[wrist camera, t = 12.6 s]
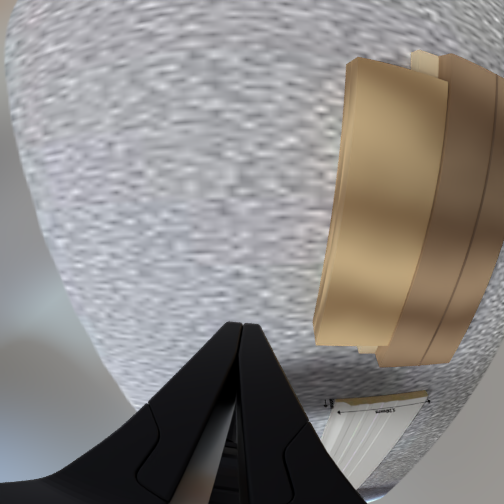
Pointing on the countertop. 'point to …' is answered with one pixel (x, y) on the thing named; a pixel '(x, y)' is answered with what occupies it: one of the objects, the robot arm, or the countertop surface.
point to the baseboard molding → (367, 430)
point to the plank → (379, 200)
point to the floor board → (455, 218)
